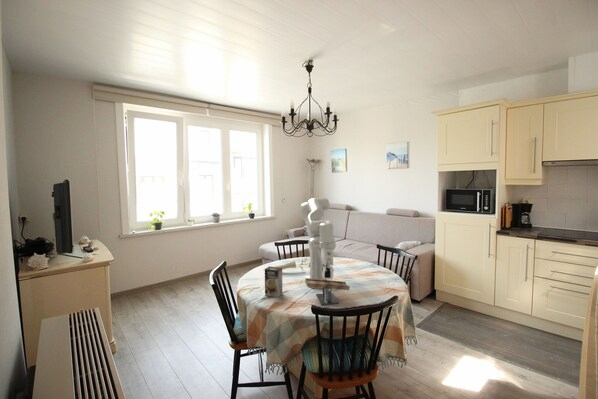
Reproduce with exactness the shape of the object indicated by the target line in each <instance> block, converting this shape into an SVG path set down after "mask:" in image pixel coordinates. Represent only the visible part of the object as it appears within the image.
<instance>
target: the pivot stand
mask: <svg viewBox="0 0 598 399" xmlns="http://www.w3.org/2000/svg"><path fill="white" fill-rule="evenodd" d="M323 280H328V279H323ZM315 296H316V298H317V301H318V302H319V304H320V306H329V305H330V306H331V305H339V304H340V303H339V301H338V299H337V297H336V296H335V295H334V293H333V292H332V289H331V285H329V286H327V288H322V293H316V294H315Z"/></svg>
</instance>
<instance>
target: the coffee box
mask: <svg viewBox="0 0 598 399" xmlns="http://www.w3.org/2000/svg"><path fill="white" fill-rule="evenodd" d="M281 294H283V270H282V268H278V267H271V266H267V267H266V268H264V296H266V295H267V297H273V296H274V298H279V297H280V296H282V295H281Z"/></svg>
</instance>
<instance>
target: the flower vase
mask: <svg viewBox="0 0 598 399" xmlns="http://www.w3.org/2000/svg"><path fill="white" fill-rule="evenodd" d="M305 257H306V258H305V260H301V262H300V263H299V265H298V267H299V268H301V269H302V270H301V271H302V272H304V273H306V271H305V270H304V269H303V266H308V267H309V268H310V263H308V262H307V260H308V256H305ZM306 262H307V263H306ZM270 267H278V268H282V271H283V270H286V269H295V268H297V264H296V260H295V259H293V260H291V261H289V262H286V263H283V264H279V265H274V266H270Z"/></svg>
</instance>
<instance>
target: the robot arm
mask: <svg viewBox="0 0 598 399" xmlns="http://www.w3.org/2000/svg"><path fill="white" fill-rule="evenodd" d="M330 205H331V204H330V201H329V199H328V198H326V197H313V198H309V199H308V201H307V202H303V203H301V204H300V207H299V208H300V214H301V218H302V219H303V221H304V222H305V226H306V231H307V234H308V237H309V239H308V242H307V244H308V251H309V264H310V267H309V276H306V275H305V277H304V278H305V280H306V279H318V280H323V279H324V278H323V277H322V272H323V266H325V278H330V277H331V266H332V267H333V265H334V254H333V252H334V250H336V247H337V245H336V244H337V243H336V240H335V237H334V224H333V223H332V221H331V220H327V219H326V220H325V219H324V220H321V219H322V218H323V217H324V216H325V215H324V214H325V213H326V212H328V211H329V209H330ZM310 288H312V289H316V290H317V289H321V288H314V287H310Z"/></svg>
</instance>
